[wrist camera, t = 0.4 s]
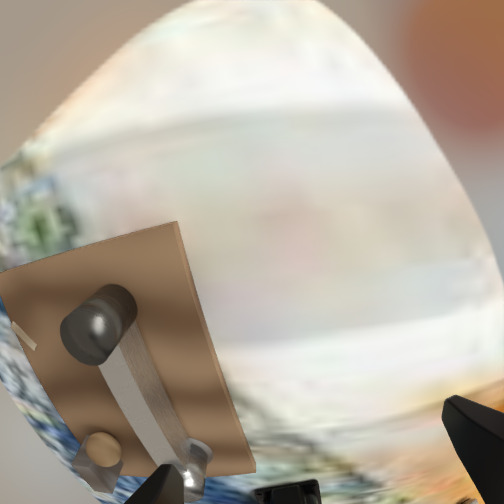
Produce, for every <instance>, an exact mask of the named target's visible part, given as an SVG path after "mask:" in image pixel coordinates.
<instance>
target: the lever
mask: <svg viewBox="0 0 504 504" xmlns="http://www.w3.org/2000/svg"><path fill="white" fill-rule="evenodd" d="M137 313H138V308H137V304H136V301H135V299H134V297H133V296H132V294H131V293H130V292H129V291H128V290H127V289H125V288H124V287H122V286H120V285H117V284H107V285H104V286H102V287H101V288H100V289H98V290H97V291H96V292H95V293H94V294H92V295H91V296H90V297H89V298H87V299H86V300H85V301H84V302H83V303H81V304H80V305H79V306H78V307H77V308H75V309H74V310H73V311H72V312H71V313H70V314H68V315H67V316H66V317H65V318H64V319H63V320H62V322H61V325H60V336H61V340H62V342H63V345H64V346H65V348H66V350H67V351H68V352H69V353H70V354H71V356H73V357H74V358H75V359H76V360H78V361H79V362H81V363H83V364H86V365H90V366H99V368H100V371H101V373H102V375H103V376H104V378H105V380H106V382H107V384H108V386H109V388H110V390H111V392H112V394H113V395H114V397H115V399H116V401H117V403H118V404H119V406H120V408H121V410H122V411H123V413H124V415H125V417H126V418H127V420H128V422H129V423H130V425H131V426H132V428H133V430H134V431H135V433H136V435H137V436H138V438H139V439H140V441H141V442H142V444H143V445H144V447H145V448H146V450H147V451H148V453H149V454H150V456H151V457H152V459H153V460H154V461H155V463H156V464H157V466H158V467H159V466H160V465H161V464H173V465H174V466H175V467H176V468H177V470H178V471H179V473H180V474H181V476H182V477H183V480H184V502H194V501H198V500H200V499H202V498H203V496H204V487H205V479H206V470H207V462H208V455H207V453H206V452H205V451H204V450H203V449H202V448H200V447H199V446H197V445H194V444H192V443H191V442H190V440H189V438H188V436H187V434H186V432H185V430H184V429H183V427H182V425H181V423H180V421H179V419H178V417H177V415H176V413H175V411H174V409H173V407H172V405H171V403H170V401H169V399H168V397H167V394H166V392H165V390H164V388H163V386H162V384H161V382H160V379H159V377H158V375H157V373H156V370H155V368H154V366H153V363H152V361H151V359H150V356H149V354H148V352H147V349H146V347H145V344H144V342H143V339H142V337H141V334H140V332H139V329H138V327H137V324H136V321H135V320H136V318H137Z"/></svg>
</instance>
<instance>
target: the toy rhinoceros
mask: <svg viewBox="0 0 504 504" xmlns="http://www.w3.org/2000/svg"><path fill="white" fill-rule="evenodd" d="M462 504H478V501H477V499H469V500H467V501H465V502H464V503H462Z"/></svg>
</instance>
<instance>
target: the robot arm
mask: <svg viewBox="0 0 504 504" xmlns="http://www.w3.org/2000/svg"><path fill="white" fill-rule="evenodd" d="M442 421H443V424H444V426H445V428H446V430H447V432H448V435H449V437H450V439H451V441H452V444H453V446H454V448H455V451H456V453H457V455H458V457H459V458H460V460H461V462H462V463H463V465H464V467H465V469H466V470H467V472H468V474H469V475H470V477H471V479H472V481H473V482H474V484H475V486H476V488H477V490H478V491H479V493H480V495H481V497H482V499H483V500H484V502H485V504H504V413H503V412H500V411H497V410H495V409H492V408H489V407H487V406H484V405H481V404H479V403H476V402H474V401H471V400H468V399H466V398H463V397H461V396H458V395H453V396H451V397H449V398H447V399H446V400H445V401H444V406H443V411H442ZM254 492H255V497H256V499H257V501H258V502H259V504H322V503H321V496H320V490H319V484H318V481H317V480H311V481H306V482H301V483H296V484H290V485H284V486H278V487H271V488H264V489H257V490H255V491H254ZM124 504H184V480H183V477H182V476H181V474H180V473H179V471H178V470H177V468H176V467H175V466H174V465H173V464H161V465H160V466H159V467H158V468H157V469H156V470H155V471H154V472H153V473H152V474H151V475H150V477H149V478H148V479H147V480H146V481H145V482H144V483H143V484H142V485H141V486H140V487H139V488H138V489H137V490H136V491H135V492H134V493H133V495H132V496H131V497H130V498H129V499H128V500H127V501H126V502H125V503H124Z"/></svg>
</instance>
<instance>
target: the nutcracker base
mask: <svg viewBox="0 0 504 504" xmlns="http://www.w3.org/2000/svg"><path fill="white" fill-rule="evenodd" d="M107 284H117V285H120V286H122V287H124V288H125V289H127V290H128V291H129V292H130V293H131V294H132V296H133V297H134V299H135V301H136V304H137V308H138V313H137V318H136V320H135V321H136V324H137V327H138V329H139V332H140V334H141V337H142V339H143V342H144V344H145V347H146V349H147V352H148V354H149V356H150V359H151V361H152V363H153V366H154V368H155V370H156V373H157V375H158V377H159V379H160V382H161V384H162V386H163V388H164V390H165V392H166V394H167V397H168V399H169V401H170V403H171V405H172V407H173V409H174V411H175V413H176V415H177V417H178V419H179V421H180V423H181V425H182V427H183V429H184V430H185V432H186V434H187V436H188V438H189V440H190V442H191V443H192V444H194V445H197V446H199V447H200V448H202V449H203V450H204V451H205V452H206V453H207V455H208V462H207V470H206V477H215V476H228V475H239V474H248V473H256V462H255V460H254V457H253V455H252V452H251V450H250V447H249V445H248V442H247V440H246V437H245V434H244V432H243V429H242V427H241V424H240V421H239V419H238V416H237V413H236V410H235V408H234V405H233V402H232V399H231V397H230V394H229V391H228V388H227V385H226V382H225V379H224V377H223V374H222V371H221V368H220V365H219V362H218V359H217V356H216V353H215V350H214V347H213V344H212V340H211V337H210V334H209V331H208V328H207V325H206V321H205V318H204V315H203V312H202V308H201V305H200V302H199V298H198V295H197V292H196V288H195V285H194V281H193V278H192V274H191V271H190V267H189V264H188V260H187V256H186V253H185V249H184V245H183V241H182V238H181V234H180V230H179V226H178V222H177V221H175V222H171V223H167V224H163V225H159V226H155V227H151V228H147V229H144V230H140V231H136V232H132V233H129V234H125V235H121V236H118V237H114V238H111V239H107V240H104V241H100V242H97V243H93V244H90V245H86V246H83V247H79V248H76V249H73V250H69V251H66V252H63V253H59V254H56V255H53V256H50V257H46V258H43V259H40V260H37V261H34V262H31V263H27V264H24V265H21V266H18V267H15V268H12V269H9V270H6V271H3V272H1V273H0V295H1V298H2V301H3V303H4V306H5V309H6V311H7V314H8V316H9V319H10V321H11V323H12V325H11V329H12V330H13V331H14V332H15V333H16V335H17V337H18V339H19V342H20V344H21V346H22V348H23V350H24V352H25V354H26V356H27V358H28V360H29V362H30V364H31V366H32V368H33V370H34V372H35V374H36V375H37V377H38V379H39V381H40V383H41V385H42V386H43V388H44V390H45V391H46V393H47V395H48V397H49V398H50V400H51V401H52V403H53V405H54V406H55V408H56V410H57V411H58V413H59V414H60V416H61V417H62V419H63V420H64V422H65V423H66V425H67V426H68V428H69V429H70V431H71V432H72V433H73V435H74V436H75V438H76V439H77V440H78V442H79V443H80V444H81V447H80V449H79V451H78V453H77V454H76V456H75V458H74V460H73V462H72V464H71V465H72V466H73V467H74V469H75V470H76V471H77V472H78V473H79V474H80V475H81V477H82V478H83V479H84V480H85V481H86V482H87V483H88V484H89V485H90V486H91V487H92V488H93V490H94V491H98V492H104V493H111V494H113V491H114V488H115V486H116V483H117V480H118V477H119V475H125V476H138V477H150V475H151V474H152V473H153V472H154V471H155V470H156V469H157V468H158V466H157V464H156V463H155V461H154V460H153V459H152V457H151V456H150V454H149V453H148V451H147V450H146V448H145V447H144V445H143V444H142V442H141V441H140V439H139V438H138V436H137V435H136V433H135V431H134V430H133V428H132V426H131V425H130V423H129V422H128V420H127V418H126V417H125V415H124V413H123V411H122V410H121V408H120V406H119V404H118V403H117V401H116V399H115V397H114V395H113V394H112V392H111V390H110V388H109V386H108V384H107V382H106V380H105V378H104V376H103V375H102V373H101V371H100V368H99V366H90V365H86V364H83V363H81V362H79V361H78V360H76V359H75V358H74V357H73V356H71V354H70V353H69V352H68V351H67V350H66V348H65V346H64V345H63V342H62V340H61V336H60V325H61V322H62V320H63V319H64V318H65V317H66V316H67V315H68V314H70V313H71V312H72V311H73V310H74V309H75V308H77V307H78V306H79V305H80V304H81V303H83V302H84V301H85V300H86V299H87V298H89V297H90V296H91V295H92V294H94V293H95V292H96V291H97V290H98V289H100V288H101V287H102V286H104V285H107Z"/></svg>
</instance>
